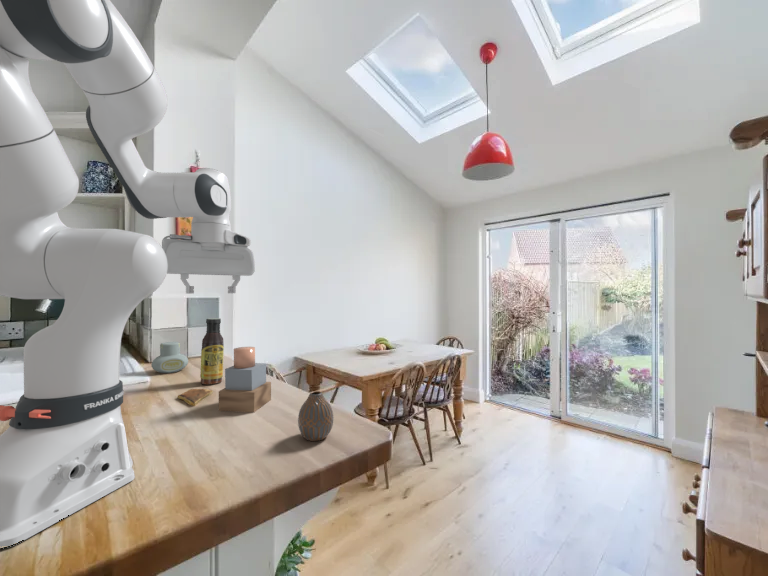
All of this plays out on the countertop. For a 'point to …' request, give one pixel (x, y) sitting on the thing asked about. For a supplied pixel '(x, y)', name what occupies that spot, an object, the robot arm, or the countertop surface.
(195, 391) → the toasted sandwich
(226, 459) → the countertop surface
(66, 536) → the countertop surface
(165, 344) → the air freshener
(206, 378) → the sauce bottle
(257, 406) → the base block
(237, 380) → the top block
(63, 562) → the countertop surface
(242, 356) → the peach pillar candle
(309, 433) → the vase
